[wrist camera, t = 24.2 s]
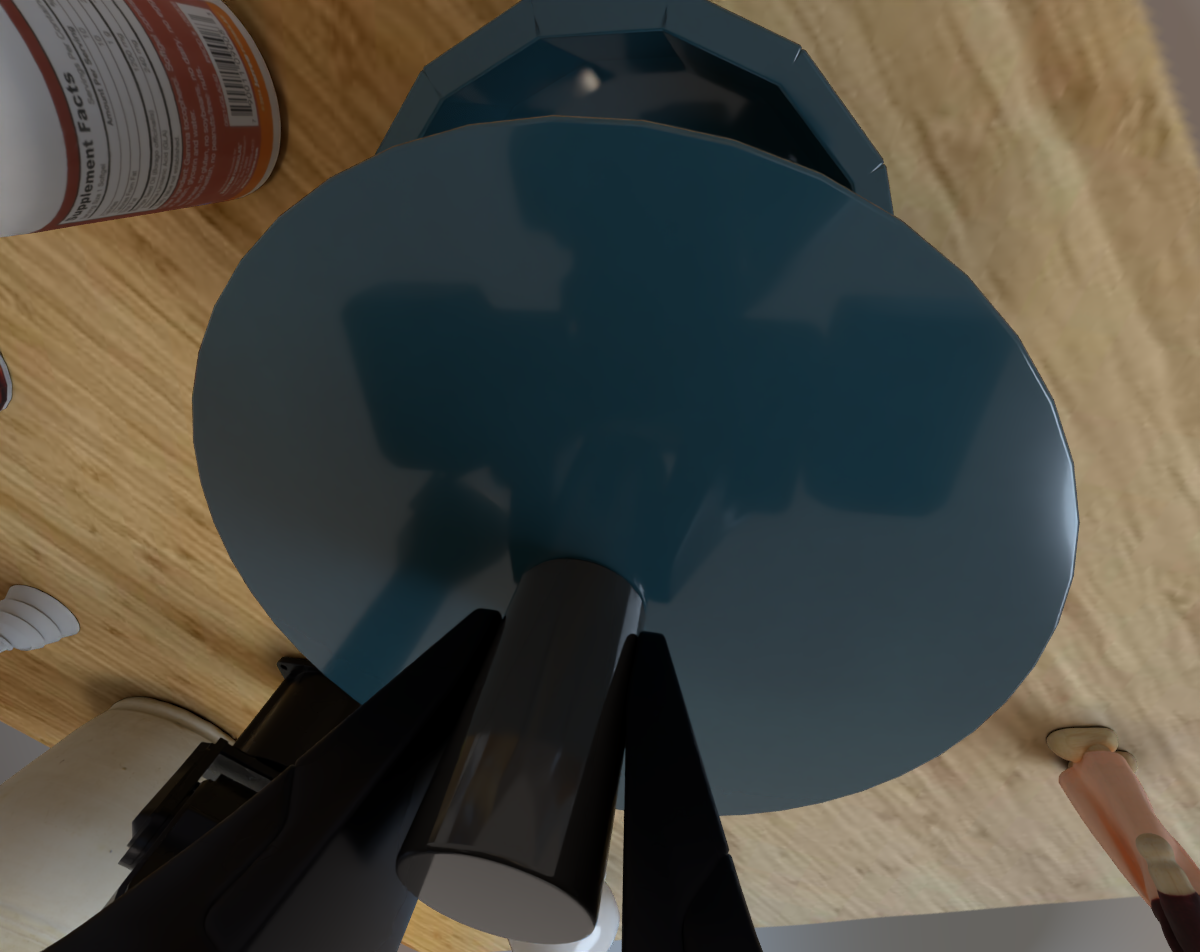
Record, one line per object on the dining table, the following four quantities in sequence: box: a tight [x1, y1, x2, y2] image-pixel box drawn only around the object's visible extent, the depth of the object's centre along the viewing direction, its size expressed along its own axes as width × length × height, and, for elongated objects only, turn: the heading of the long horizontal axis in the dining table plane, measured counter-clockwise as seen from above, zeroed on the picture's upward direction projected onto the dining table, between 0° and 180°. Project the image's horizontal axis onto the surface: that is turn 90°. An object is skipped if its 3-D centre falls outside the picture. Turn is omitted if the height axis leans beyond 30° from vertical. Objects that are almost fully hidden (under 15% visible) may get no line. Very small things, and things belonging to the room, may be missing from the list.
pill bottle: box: [0, 0, 281, 237], centre depth 13 cm, size 6×6×11 cm
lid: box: [192, 115, 1080, 944], centre depth 8 cm, size 15×15×6 cm
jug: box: [0, 697, 236, 952], centre depth 35 cm, size 15×16×25 cm
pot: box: [375, 0, 894, 215], centre depth 16 cm, size 14×14×5 cm
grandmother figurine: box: [1047, 728, 1200, 952], centre depth 21 cm, size 8×4×13 cm, turn 54°
